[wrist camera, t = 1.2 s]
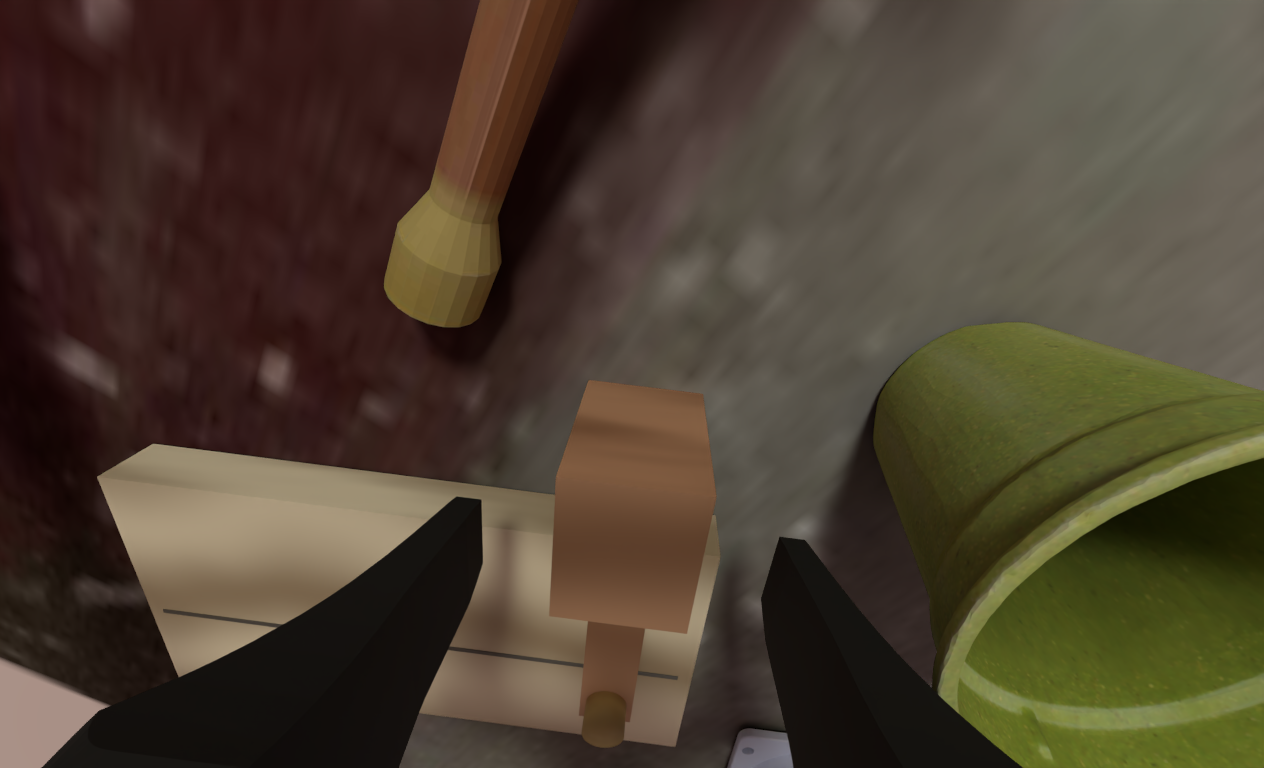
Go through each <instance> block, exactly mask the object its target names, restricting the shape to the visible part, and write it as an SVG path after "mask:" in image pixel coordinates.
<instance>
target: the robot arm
mask: <svg viewBox="0 0 1264 768" xmlns="http://www.w3.org/2000/svg"><path fill="white" fill-rule="evenodd" d="M482 565H483V540H482V499H474V498H466V497H458V496H456V497H455V498H454V499H452V500H451V501H450V502H449V503H448V504H446V505H445V506H444V507H443V508H442V509H441V510H439V511H438V512H437V513H436V514H435V515H434V516H433V517H431V518H430V519H429V520H428V521H427V522H426V523H424V524H423V525H422V526H421V527H420V528H419V529H417V530H416V531H415V532H414V533H413V534H412V535H410V536H409V537H408V538H407V539H405V540H404V541H403V542H402V543H401V544H399V545H398V546H397V547H396V548H394V549H393V550H392V551H391V552H390V553H388V554H387V555H386V556H384V557H383V558H382V559H381V560H379V561H378V562H377V563H375V564H374V565H373V566H371V567H370V568H368V569H367V570H366V571H364V572H363V573H362V574H360V575H359V576H358V577H356V578H355V579H354V580H352V581H351V582H350V583H348V584H347V585H345V586H344V587H342V588H341V589H339V590H338V591H337V592H335V593H334V594H332V595H331V596H329V597H328V598H326V599H324V600H323V601H321V602H320V603H318V604H317V605H315V606H313V607H312V608H310V609H309V610H307V611H305V612H304V613H302V614H301V615H299V616H297V617H295V618H294V619H292V620H290V621H288V622H286V623H285V624H283V625H281V626H279V627H277V628H276V629H274V630H272V631H270V632H269V633H267V634H265V635H263V636H261V637H260V638H258V639H256V640H254V641H252V642H251V643H249V644H247V645H245V646H243V647H241V648H239V649H237V650H235V651H233V652H231V653H229V654H227V655H225V656H223V657H221V658H219V659H217V660H215V661H213V662H211V663H208V664H206V665H204V666H202V667H200V668H198V669H196V670H194V671H192V672H189V673H187V674H185V675H183V676H181V677H178V678H176V679H174V680H172V681H169V682H167V683H165V684H162V685H160V686H157V687H155V688H153V689H150V690H148V691H146V692H143V693H141V694H138V695H136V696H134V697H131V698H129V699H127V700H124V701H122V702H119V703H117V704H115V705H112V706H110V707H107V708H105V709H102V710H100V711H98V712H97V713H96V714H95V715H94V716H93V717H92V718H91V719H90V720H89V721H88V722H87V723H86V724H85V725H84V726H83V727H82V728H81V729H80V730H79V731H78V732H77V733H76V734H74V736H72V738H71V739H70V740H69V741H68V742H67V743H66V744H65V745H64V746H63V747H62V748H61V749H60V750H59V751H58V752H57V753H56V754H55V755H54V756H53V757H52V758H51V759H50V760H49V761H48V762H47V763H46V764H45V765H44V766H43V767H42V768H399V765H400V762H401V760H402V757H403V754H404V752H405V749H406V746H407V743H408V741H409V738H410V735H411V733H412V730H413V727H414V724H415V722H416V719H417V716H418V714H419V712H420V709H421V707H422V705H423V702H424V700H425V698H426V695H427V693H428V691H429V689H430V687H431V685H432V682H433V680H434V678H435V676H436V674H437V672H438V670H439V668H440V666H441V663H442V661H443V659H444V657H445V655H446V653H447V651H448V649H449V647H450V644H451V642H452V640H453V638H454V636H455V634H456V632H457V630H458V627H459V625H460V623H461V621H462V619H463V617H464V615H465V612H466V610H467V608H468V606H469V604H470V601H471V598H472V595H473V592H474V589H475V586H476V583H477V580H478V577H479V574H480V571H481V568H482ZM761 602H762V613H763V623H764V631H765V640H766V645H767V650H768V654H769V659H770V663H771V668H772V672H773V677H774V681H775V685H776V689H777V694H778V698H779V702H780V707H781V711H782V715H783V720H784V724H785V728H786V733H782V732H775V731H767V730H760V729H752V728H746V729H743V730H741V731H740V732H739V733H738V735H737V738H736V742H735V745H734V748H733V751H732V754H731V757H730V760H729V764H728V767H727V768H1023V767H1022V766H1020V765H1019V764H1018V763H1017V762H1015V761H1014V760H1013V759H1012V758H1010V757H1009V756H1008V755H1007V754H1005V753H1004V752H1003V751H1002V750H1001V749H999V748H998V747H997V746H996V745H994V744H993V743H992V742H991V741H990V740H988V739H987V738H986V737H985V736H984V735H983V734H982V733H980V732H979V731H978V730H977V729H976V728H975V727H974V726H972V725H971V724H970V723H969V722H968V721H967V720H966V719H964V718H963V717H962V716H961V715H960V714H959V713H958V712H956V711H955V710H954V709H953V708H952V707H951V706H950V705H949V704H948V703H947V702H946V701H944V700H943V699H942V698H941V697H940V696H939V695H938V694H937V693H936V692H935V691H934V690H933V689H932V688H931V687H930V686H929V685H928V684H927V683H926V682H925V681H924V680H923V679H922V678H921V677H920V676H919V675H918V674H917V673H916V672H915V671H914V670H913V669H912V668H911V667H910V666H909V665H908V664H907V663H906V662H905V661H904V660H903V659H902V658H901V657H900V656H899V655H898V654H897V653H896V651H895V650H894V649H893V648H892V647H891V646H890V645H889V644H888V643H887V641H886V640H885V639H884V638H883V637H882V636H881V635H880V634H879V633H878V631H877V630H876V629H875V628H874V627H873V626H872V624H871V623H870V622H869V621H868V620H867V619H866V617H865V616H864V615H863V614H862V613H861V611H860V610H859V609H858V608H857V607H856V605H855V604H854V603H853V602H852V600H851V599H850V598H849V597H848V595H847V594H846V593H845V592H844V590H843V589H842V588H841V586H840V585H839V584H838V583H837V581H836V580H835V579H834V577H833V576H832V575H831V574H830V572H829V571H828V570H827V568H826V567H825V566H824V564H823V563H822V562H821V560H820V559H819V558H818V556H817V555H816V554H815V552H814V551H813V550H812V548H811V547H810V546H809V545H808V543H807V542H806V541H805V540H800V539H792V538H784V537H779V540H778V544H777V547H776V551H775V554H774V557H773V561H772V564H771V567H770V571H769V574H768V577H767V581H766V584H765V587H764V591H763V594H762V597H761Z"/></svg>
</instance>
